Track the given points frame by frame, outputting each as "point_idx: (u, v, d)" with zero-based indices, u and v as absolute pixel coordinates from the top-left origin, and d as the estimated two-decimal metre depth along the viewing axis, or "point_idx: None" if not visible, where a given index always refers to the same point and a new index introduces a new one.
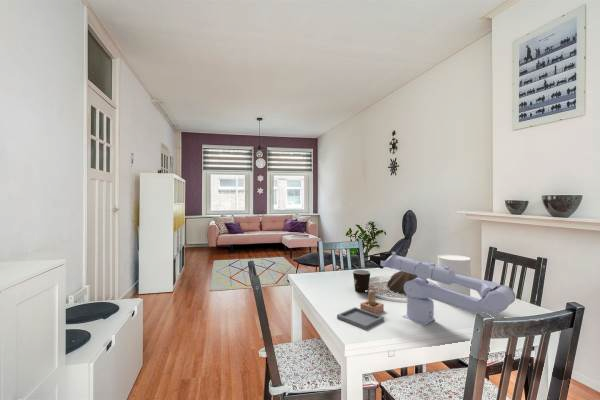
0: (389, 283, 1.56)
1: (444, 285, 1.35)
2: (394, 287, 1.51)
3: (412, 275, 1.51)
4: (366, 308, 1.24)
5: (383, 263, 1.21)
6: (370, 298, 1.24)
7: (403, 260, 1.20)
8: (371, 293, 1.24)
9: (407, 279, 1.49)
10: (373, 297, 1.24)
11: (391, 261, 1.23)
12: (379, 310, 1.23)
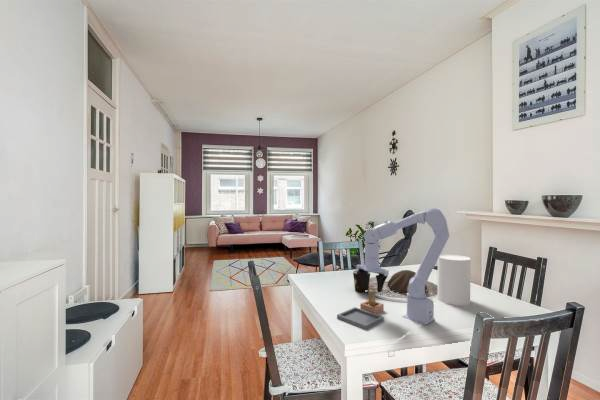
0: (389, 283, 1.57)
1: (444, 285, 1.35)
2: (394, 287, 1.51)
3: (412, 275, 1.51)
4: (366, 308, 1.24)
5: (386, 272, 1.20)
6: (370, 298, 1.24)
7: (366, 255, 1.24)
8: (371, 293, 1.24)
9: (407, 279, 1.49)
10: (373, 297, 1.24)
11: (376, 268, 1.23)
12: (379, 310, 1.23)
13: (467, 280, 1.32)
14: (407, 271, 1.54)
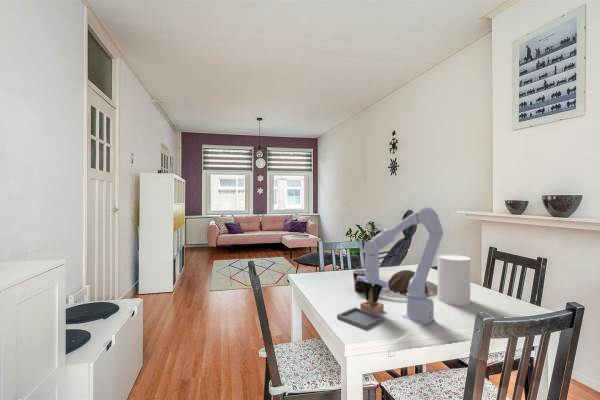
0: (389, 283, 1.57)
1: (444, 285, 1.35)
2: (394, 287, 1.51)
3: (412, 275, 1.51)
4: (366, 308, 1.24)
5: (387, 284, 1.20)
6: (370, 298, 1.24)
7: (366, 267, 1.24)
8: (371, 293, 1.24)
9: (407, 279, 1.49)
10: None
11: (376, 279, 1.23)
12: (379, 310, 1.23)
13: (467, 280, 1.32)
14: (407, 271, 1.54)
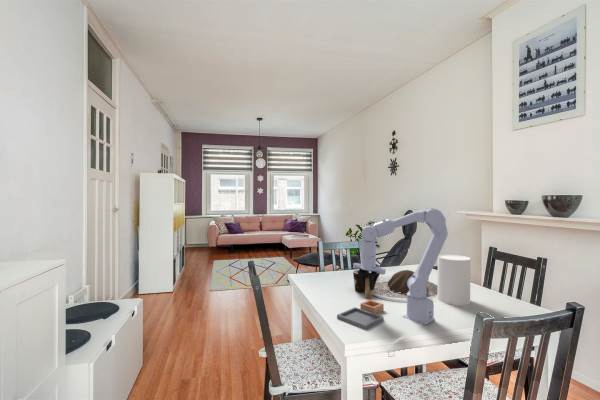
0: (389, 283, 1.57)
1: (444, 285, 1.35)
2: (394, 287, 1.52)
3: None
4: (366, 308, 1.24)
5: (383, 271, 1.17)
6: (367, 285, 1.22)
7: (363, 254, 1.21)
8: (368, 280, 1.22)
9: (407, 279, 1.49)
10: None
11: (373, 266, 1.20)
12: (379, 310, 1.23)
13: (467, 280, 1.32)
14: (407, 271, 1.54)
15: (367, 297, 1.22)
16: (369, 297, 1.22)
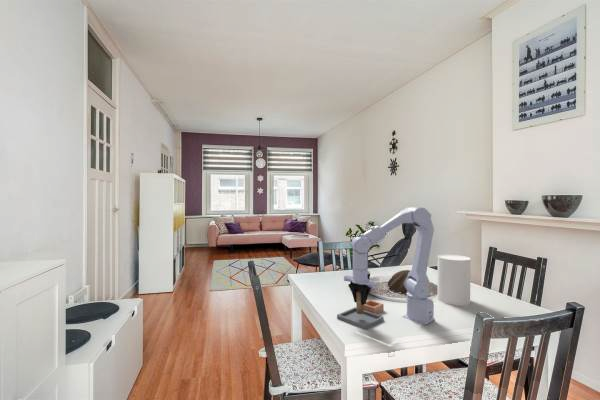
0: (389, 283, 1.57)
1: (444, 285, 1.35)
2: (394, 287, 1.52)
3: None
4: (366, 308, 1.24)
5: (375, 284, 1.11)
6: (358, 300, 1.16)
7: (356, 267, 1.14)
8: (359, 294, 1.15)
9: None
10: None
11: (365, 280, 1.14)
12: (379, 310, 1.23)
13: (467, 280, 1.32)
14: (407, 271, 1.54)
15: (358, 312, 1.15)
16: (360, 312, 1.15)
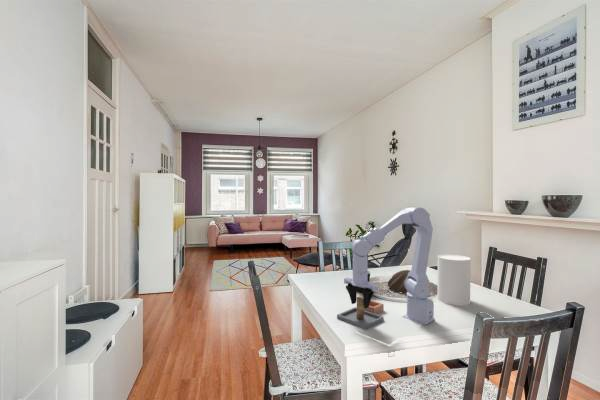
0: (389, 283, 1.57)
1: (444, 285, 1.35)
2: (394, 287, 1.52)
3: None
4: (366, 308, 1.24)
5: (375, 287, 1.11)
6: (358, 305, 1.15)
7: (356, 270, 1.14)
8: (359, 300, 1.15)
9: None
10: (362, 304, 1.15)
11: (365, 282, 1.14)
12: (379, 310, 1.23)
13: (467, 280, 1.32)
14: (407, 271, 1.54)
15: (359, 318, 1.15)
16: (361, 317, 1.15)
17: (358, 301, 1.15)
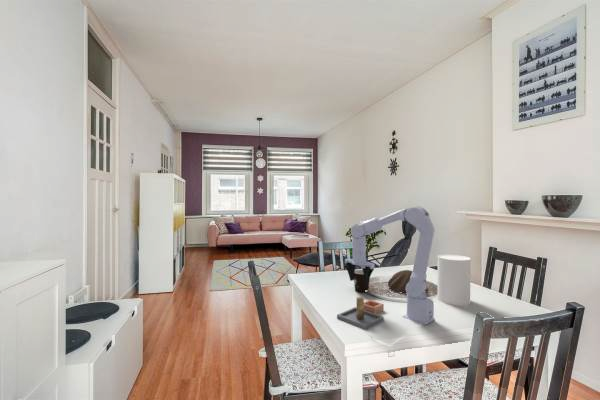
0: (389, 283, 1.57)
1: (444, 285, 1.35)
2: (394, 287, 1.52)
3: None
4: (366, 308, 1.24)
5: (372, 265, 1.26)
6: (358, 305, 1.16)
7: None
8: (359, 300, 1.15)
9: (406, 279, 1.49)
10: (361, 304, 1.15)
11: (363, 261, 1.29)
12: (379, 310, 1.23)
13: (467, 280, 1.32)
14: (407, 271, 1.54)
15: (358, 318, 1.16)
16: (361, 317, 1.15)
17: (358, 301, 1.16)
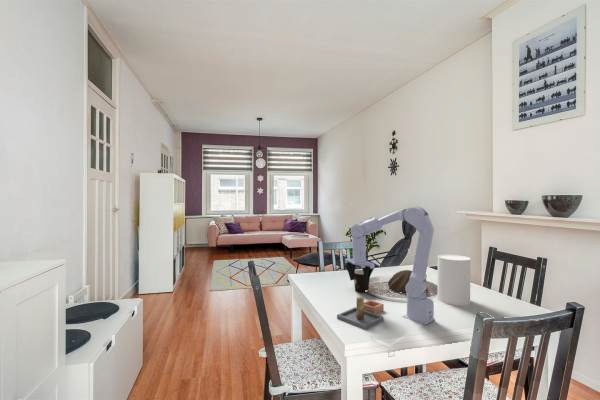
0: (389, 282, 1.57)
1: (444, 285, 1.35)
2: (393, 287, 1.52)
3: None
4: (366, 308, 1.24)
5: (372, 265, 1.27)
6: (358, 305, 1.16)
7: None
8: (359, 300, 1.15)
9: (406, 279, 1.49)
10: (361, 304, 1.15)
11: (363, 261, 1.30)
12: (379, 310, 1.23)
13: (467, 280, 1.32)
14: (407, 271, 1.54)
15: (358, 318, 1.16)
16: (361, 317, 1.15)
17: (358, 301, 1.16)
